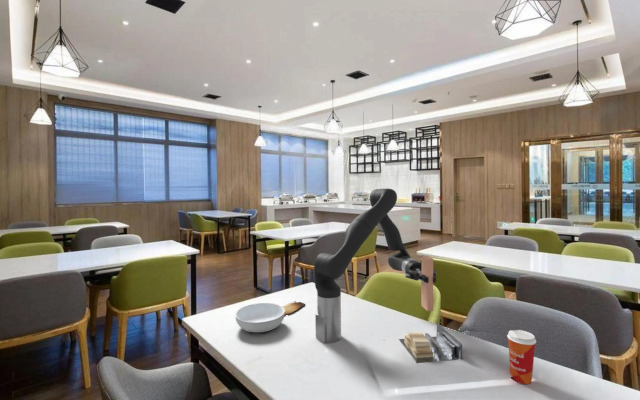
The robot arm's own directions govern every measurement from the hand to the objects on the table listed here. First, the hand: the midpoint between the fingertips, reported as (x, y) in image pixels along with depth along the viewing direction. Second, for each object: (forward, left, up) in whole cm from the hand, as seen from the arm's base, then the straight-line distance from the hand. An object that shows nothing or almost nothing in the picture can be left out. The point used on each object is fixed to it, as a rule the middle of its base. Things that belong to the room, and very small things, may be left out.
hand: (431, 280), depth 125 cm
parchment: (-29, +61, -24) cm, 72 cm away
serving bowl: (-47, +51, -24) cm, 73 cm away
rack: (-7, -4, -24) cm, 25 cm away
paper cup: (+2, -31, -24) cm, 39 cm away
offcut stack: (-10, -2, -23) cm, 25 cm away
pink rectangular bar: (+2, +3, -12) cm, 12 cm away
